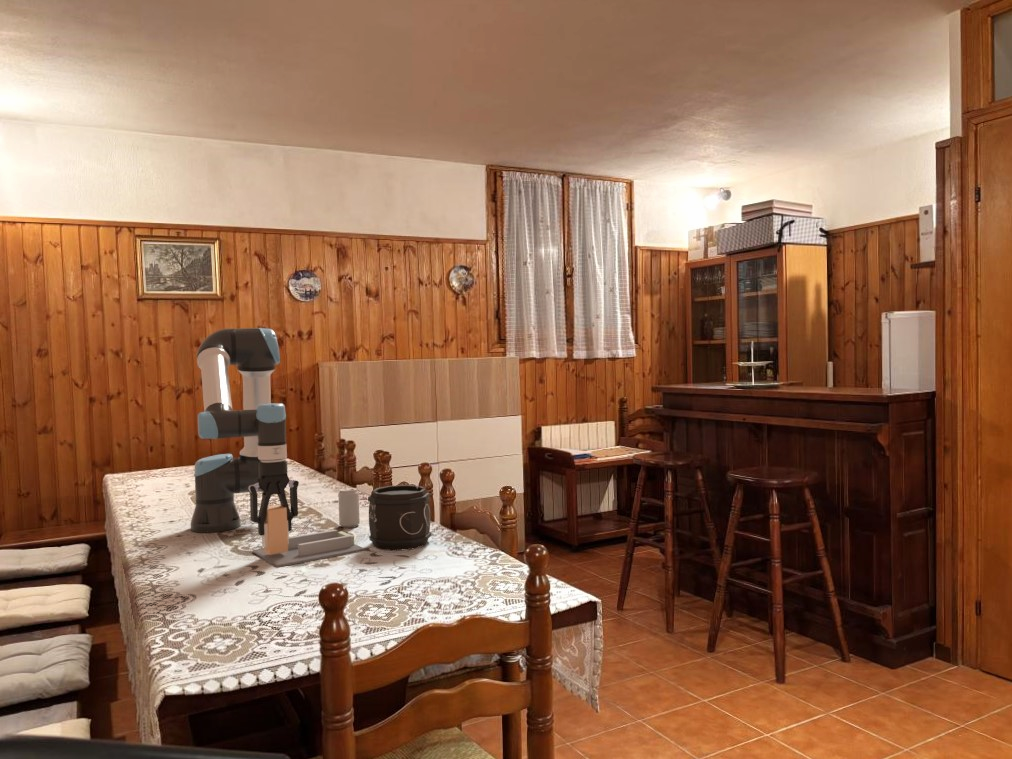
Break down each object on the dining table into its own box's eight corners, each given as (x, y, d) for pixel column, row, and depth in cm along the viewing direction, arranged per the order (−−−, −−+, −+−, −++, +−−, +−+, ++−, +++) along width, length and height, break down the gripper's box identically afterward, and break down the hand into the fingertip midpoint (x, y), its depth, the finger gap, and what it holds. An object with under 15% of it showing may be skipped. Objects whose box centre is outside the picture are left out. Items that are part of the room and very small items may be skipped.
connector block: (263, 551, 207) (262, 507, 207) (281, 548, 210) (280, 505, 210) (269, 554, 203) (268, 510, 203) (288, 551, 206) (286, 507, 206)
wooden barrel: (443, 538, 224) (442, 485, 223) (411, 553, 207) (409, 496, 207) (392, 533, 231) (391, 482, 231) (357, 547, 215) (355, 493, 214)
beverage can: (355, 528, 239) (353, 490, 239) (336, 528, 241) (334, 490, 240) (362, 524, 246) (361, 487, 245) (344, 523, 247) (343, 487, 246)
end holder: (252, 552, 213) (252, 539, 213) (335, 537, 228) (335, 525, 227) (277, 567, 197) (276, 553, 196) (365, 550, 211) (364, 537, 211)
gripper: (243, 465, 197) (246, 553, 198) (309, 458, 208) (312, 542, 209) (234, 462, 203) (237, 548, 204) (299, 455, 214) (302, 537, 215)
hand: (275, 544), depth 206 cm, fingers closed on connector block, 5 cm apart
